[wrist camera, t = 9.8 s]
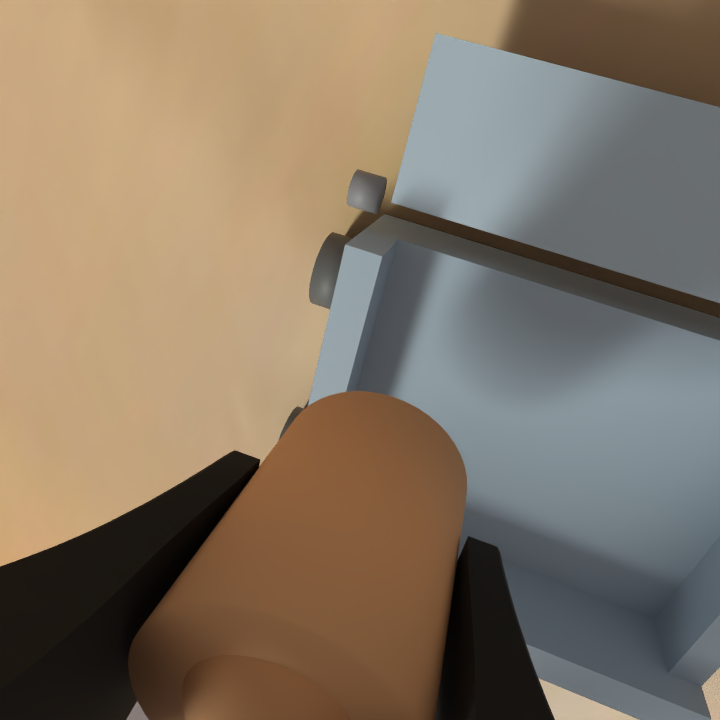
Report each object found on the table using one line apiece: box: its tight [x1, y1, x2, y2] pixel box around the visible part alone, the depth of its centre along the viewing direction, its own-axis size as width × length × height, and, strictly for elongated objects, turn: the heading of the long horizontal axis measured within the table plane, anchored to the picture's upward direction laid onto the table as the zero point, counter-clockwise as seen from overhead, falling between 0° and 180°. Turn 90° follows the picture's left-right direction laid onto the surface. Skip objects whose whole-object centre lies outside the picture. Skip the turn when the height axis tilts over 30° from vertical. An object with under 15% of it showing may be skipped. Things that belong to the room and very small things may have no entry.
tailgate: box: [391, 33, 720, 303], centre depth 13 cm, size 1×13×4 cm
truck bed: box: [279, 170, 720, 720], centre depth 16 cm, size 12×17×6 cm
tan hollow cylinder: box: [128, 391, 467, 720], centre depth 10 cm, size 5×5×7 cm
